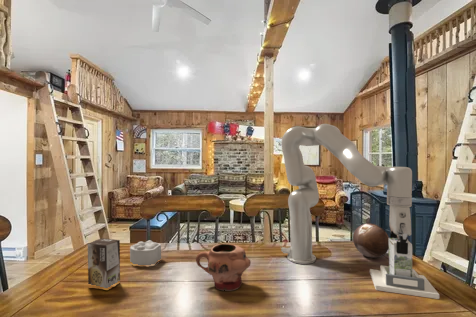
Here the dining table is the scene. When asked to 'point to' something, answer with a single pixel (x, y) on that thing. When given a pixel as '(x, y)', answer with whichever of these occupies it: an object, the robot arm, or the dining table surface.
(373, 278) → the shelf bay
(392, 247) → the syrup box
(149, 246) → the lumpy-topped squat cylinder
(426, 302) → the dining table surface
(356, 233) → the wooden sphere
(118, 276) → the coffee box
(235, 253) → the sculpted clay mug
